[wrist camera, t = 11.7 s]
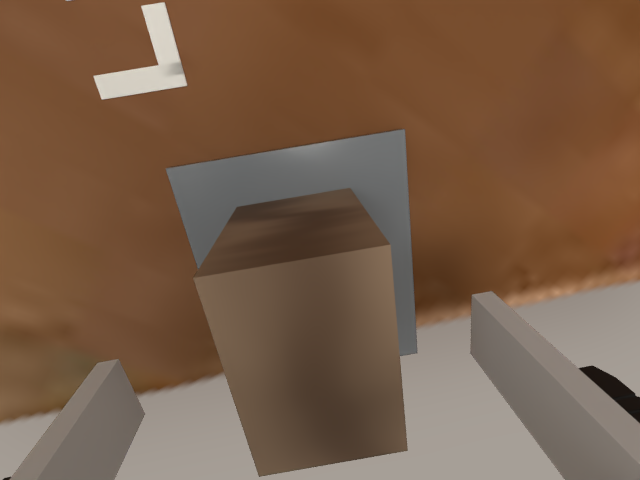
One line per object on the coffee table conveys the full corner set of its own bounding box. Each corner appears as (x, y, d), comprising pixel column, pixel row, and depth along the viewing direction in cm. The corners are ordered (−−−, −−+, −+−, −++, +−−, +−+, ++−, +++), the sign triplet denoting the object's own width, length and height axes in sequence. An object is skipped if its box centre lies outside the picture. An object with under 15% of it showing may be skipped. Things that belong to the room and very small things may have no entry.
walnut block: (272, 345, 21) (259, 476, 13) (236, 206, 17) (193, 278, 10) (367, 328, 21) (407, 450, 13) (350, 187, 18) (390, 244, 10)
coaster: (236, 379, 22) (234, 384, 22) (168, 167, 17) (165, 168, 17) (415, 349, 22) (417, 353, 22) (402, 128, 17) (404, 129, 17)
